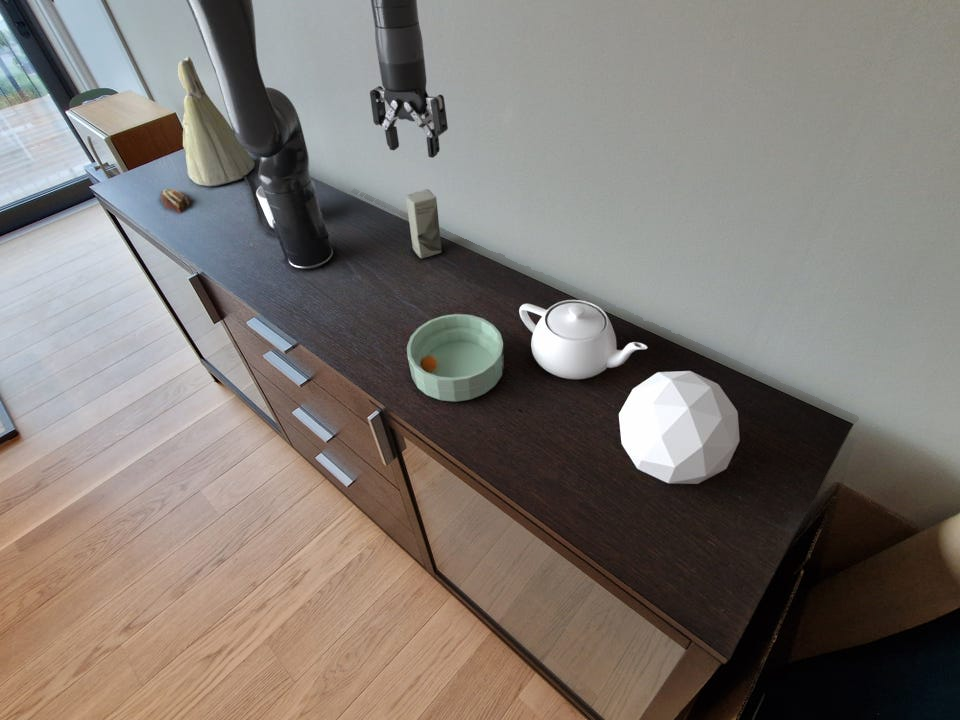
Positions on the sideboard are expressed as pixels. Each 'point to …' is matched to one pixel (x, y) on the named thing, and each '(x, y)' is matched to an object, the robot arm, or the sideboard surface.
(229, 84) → the robot arm
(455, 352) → the bowl
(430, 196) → the box
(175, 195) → the brown striped bar
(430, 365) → the ball
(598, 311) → the teapot
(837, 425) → the sideboard surface
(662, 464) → the geometric shape
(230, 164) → the sculpture
